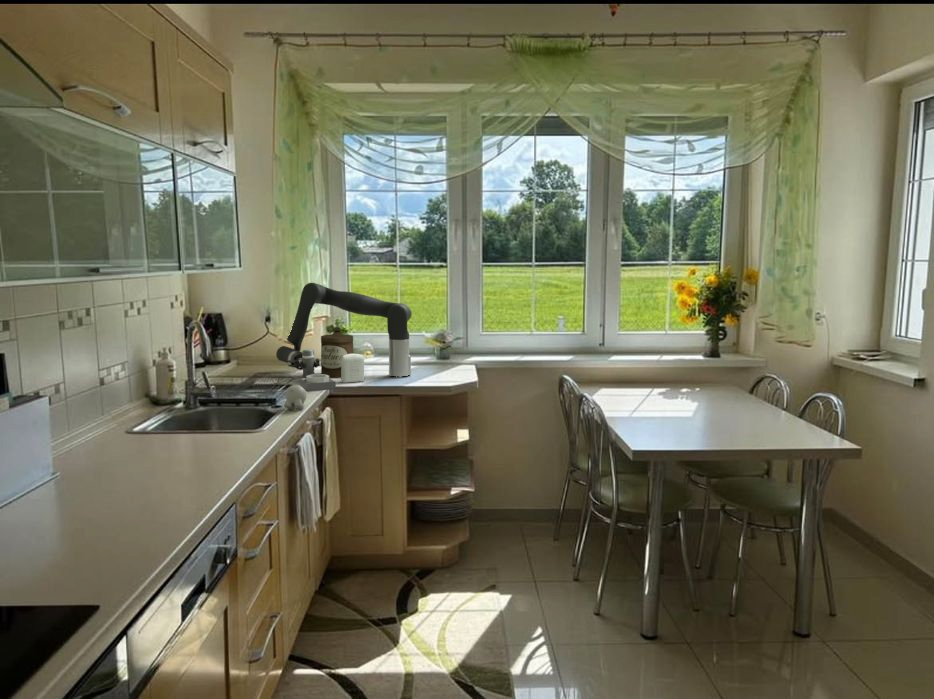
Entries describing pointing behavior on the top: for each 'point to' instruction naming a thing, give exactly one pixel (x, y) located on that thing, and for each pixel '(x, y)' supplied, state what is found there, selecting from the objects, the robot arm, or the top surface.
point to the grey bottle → (308, 362)
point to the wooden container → (334, 352)
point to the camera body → (317, 382)
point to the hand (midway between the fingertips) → (310, 365)
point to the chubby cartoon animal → (295, 397)
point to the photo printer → (352, 368)
